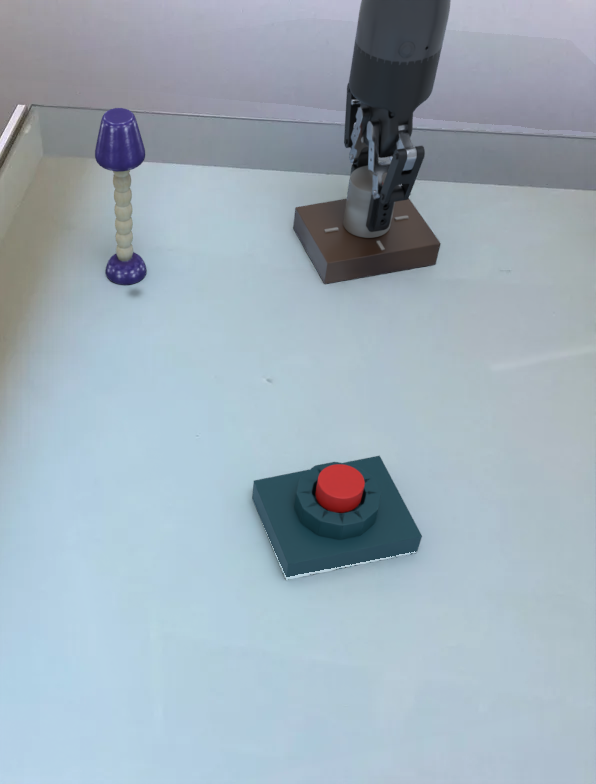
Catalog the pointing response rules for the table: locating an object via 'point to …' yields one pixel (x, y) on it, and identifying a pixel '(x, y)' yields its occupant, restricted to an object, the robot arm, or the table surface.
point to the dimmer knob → (360, 203)
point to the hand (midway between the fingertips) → (367, 212)
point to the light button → (339, 488)
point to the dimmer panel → (363, 242)
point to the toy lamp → (121, 188)
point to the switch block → (334, 520)
